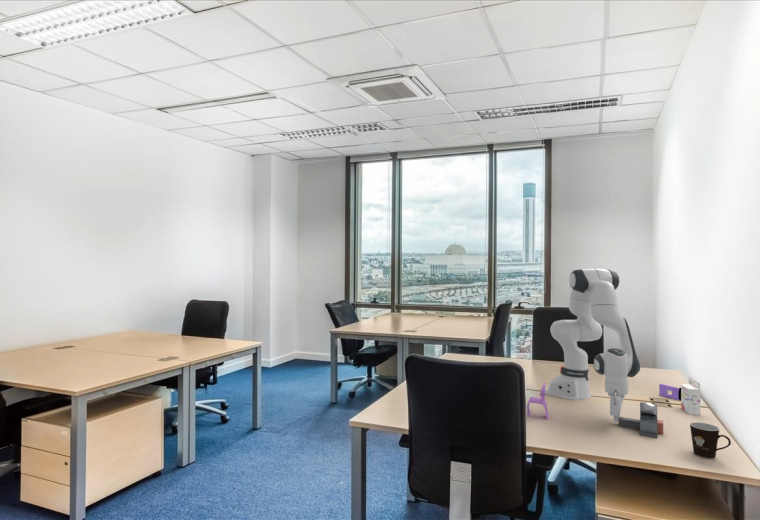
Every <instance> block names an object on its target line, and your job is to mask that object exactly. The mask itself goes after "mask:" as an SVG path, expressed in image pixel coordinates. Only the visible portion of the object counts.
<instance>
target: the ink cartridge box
mask: <svg viewBox="0 0 760 520" xmlns="http://www.w3.org/2000/svg"><path fill="white" fill-rule="evenodd" d="M700 384H701V383H700V382H699V381H697V380H696V379H694V378H691V384H683V383H681V384H680V388H681V400H680V402H681V403H680V404H681V405H680V406H681V409H682V410H683V411H685V413H687V414H688V415H697V416H698V415H700V416H701V385H700Z"/></svg>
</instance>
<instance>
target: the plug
mask: <svg viewBox="0 0 760 520" xmlns="http://www.w3.org/2000/svg"><path fill="white" fill-rule="evenodd" d="M617 423H618V427H622V428H628V429H632V430H639V431H640V419H636V418H631V417H623V416H619V421H618V422H617ZM657 434H660V435H664V420H663V419H657Z"/></svg>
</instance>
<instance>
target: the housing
mask: <svg viewBox="0 0 760 520" xmlns="http://www.w3.org/2000/svg"><path fill="white" fill-rule="evenodd" d="M639 420H640V430H639V436H643V437H648V438H655V439H658V437H659V436H658V434H659V433H657V420H658V403H657V404H656V403H649V402H644V401H642V402H640V401H639Z"/></svg>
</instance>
